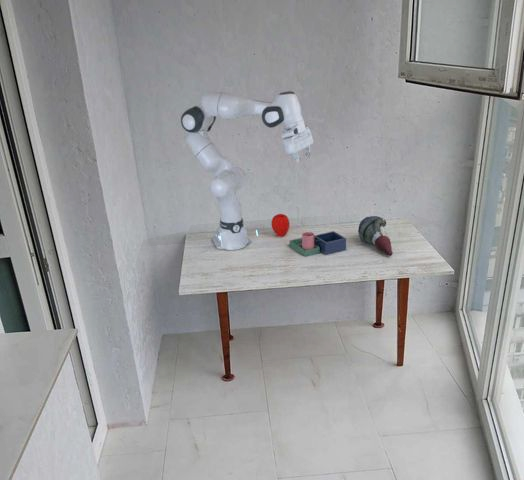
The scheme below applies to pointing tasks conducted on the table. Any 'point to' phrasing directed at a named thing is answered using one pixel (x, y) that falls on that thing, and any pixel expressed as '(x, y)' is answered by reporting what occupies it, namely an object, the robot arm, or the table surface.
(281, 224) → the red rounded egg shape
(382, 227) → the figurine
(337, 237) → the navy blue open box
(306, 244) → the cup
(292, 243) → the rack
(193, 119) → the robot arm
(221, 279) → the table surface
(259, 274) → the table surface
